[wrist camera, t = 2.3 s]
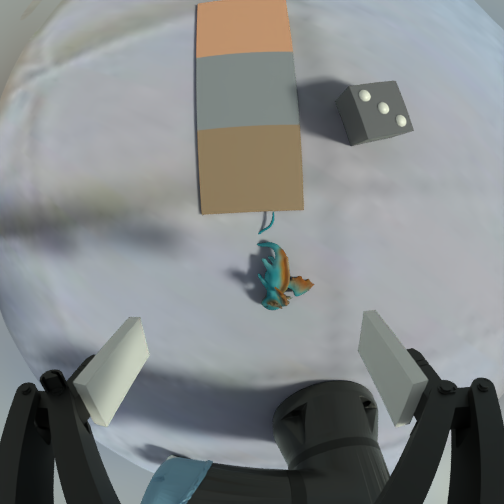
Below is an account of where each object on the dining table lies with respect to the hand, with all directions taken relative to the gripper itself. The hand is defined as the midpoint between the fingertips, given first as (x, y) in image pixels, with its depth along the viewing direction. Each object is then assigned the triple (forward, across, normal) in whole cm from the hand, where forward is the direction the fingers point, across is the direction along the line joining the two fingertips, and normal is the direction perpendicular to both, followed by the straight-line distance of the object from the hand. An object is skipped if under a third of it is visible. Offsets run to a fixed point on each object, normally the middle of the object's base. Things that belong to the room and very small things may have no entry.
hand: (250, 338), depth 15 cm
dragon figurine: (+14, -2, 0) cm, 14 cm away
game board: (+14, 0, -18) cm, 23 cm away
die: (+14, -12, -15) cm, 24 cm away
